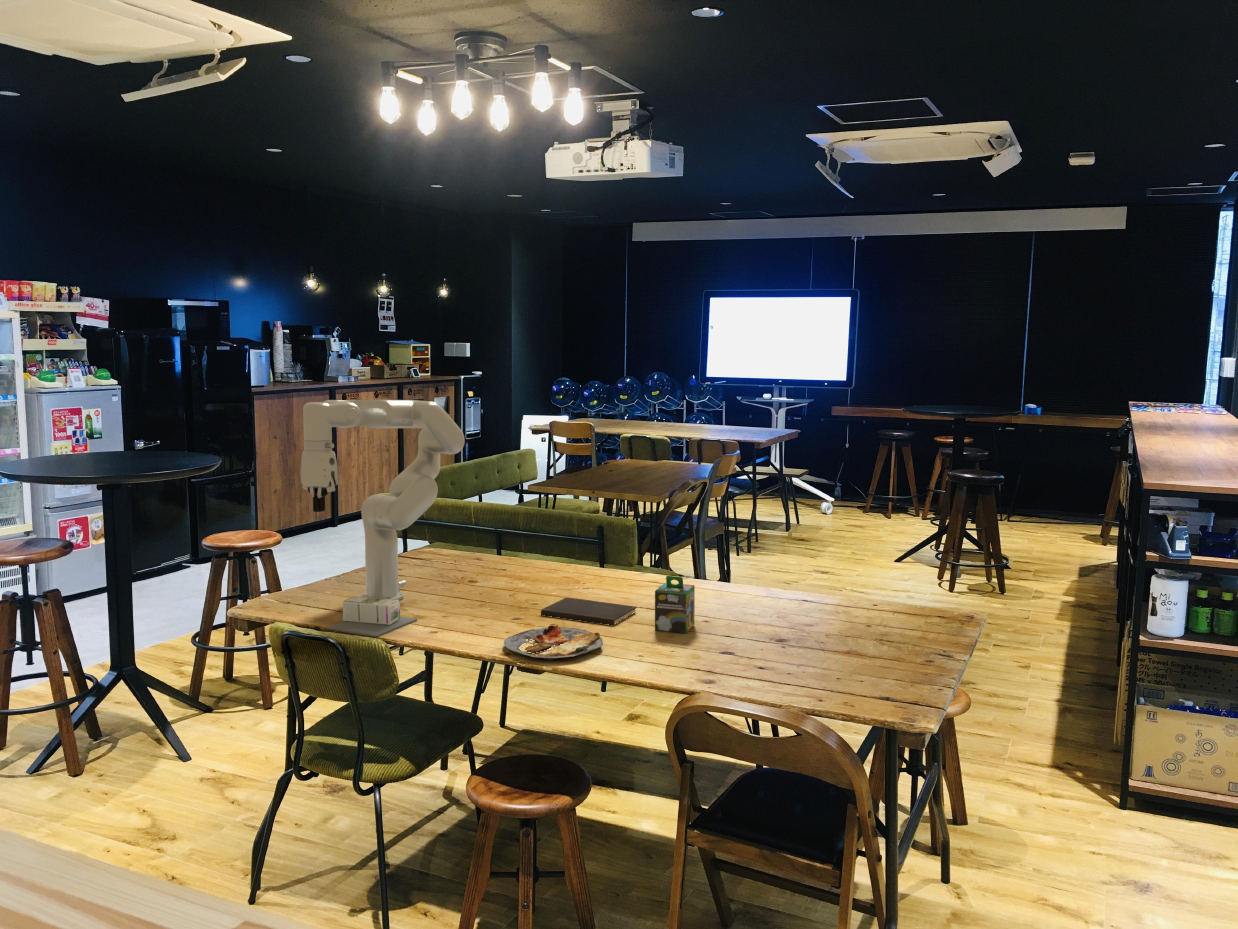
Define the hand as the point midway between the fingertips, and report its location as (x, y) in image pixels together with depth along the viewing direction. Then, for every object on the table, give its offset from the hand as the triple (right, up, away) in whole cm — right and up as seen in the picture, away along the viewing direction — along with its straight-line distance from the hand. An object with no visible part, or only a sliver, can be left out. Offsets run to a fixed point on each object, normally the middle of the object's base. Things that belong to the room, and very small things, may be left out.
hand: (319, 511), depth 274 cm
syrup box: (+9, -27, -5) cm, 29 cm away
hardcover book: (+76, -31, +6) cm, 82 cm away
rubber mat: (+18, -31, -9) cm, 36 cm away
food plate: (+68, -34, -27) cm, 81 cm away
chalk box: (+100, -32, -7) cm, 105 cm away
